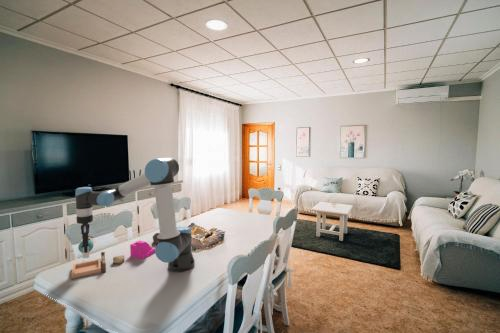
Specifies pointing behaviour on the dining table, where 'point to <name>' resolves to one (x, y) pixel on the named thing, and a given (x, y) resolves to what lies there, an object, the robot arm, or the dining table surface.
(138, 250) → the magenta block
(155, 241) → the fossil
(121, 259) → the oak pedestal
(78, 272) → the terracotta dish
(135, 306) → the dining table surface
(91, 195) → the robot arm
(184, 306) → the dining table surface
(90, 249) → the ball
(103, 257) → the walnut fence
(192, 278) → the dining table surface
